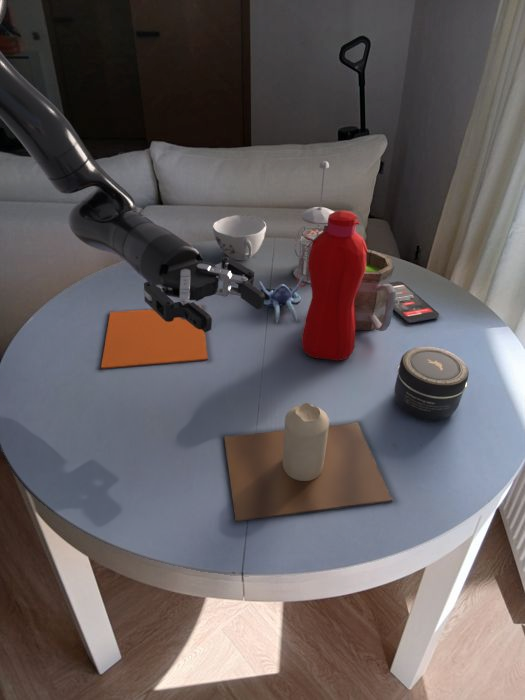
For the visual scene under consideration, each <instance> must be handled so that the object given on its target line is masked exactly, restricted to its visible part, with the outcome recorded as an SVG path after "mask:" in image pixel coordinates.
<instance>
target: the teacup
mask: <svg viewBox="0 0 525 700" xmlns="http://www.w3.org/2000/svg"><path fill="white" fill-rule="evenodd" d="M212 230H213V234H214V238H215V241H216V244H217V246H219V248H220V250H221V251H222V252H223V253H224V254H225V255H227V257H229V258H231V259H233V260H234V261H245V260H249V259H250V258H252V257H253V256H254V255H255V254H256V253H257V252H258V251H259V250H260V248H261V247H262V244H263V242H264V240H265V236H266V233H267V232H266V231H267V223H266V222H265V221H264V220H263V219H262V218H259V217H255V216H251V215H244V214H242V215H241V214H239V215H231V216H226V217H222V218H221V219H219V220H217V221H215V222H214V223H213V224H212Z"/></svg>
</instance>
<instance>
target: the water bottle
mask: <svg viewBox="0 0 525 700" xmlns="http://www.w3.org/2000/svg"><path fill="white" fill-rule="evenodd" d="M357 225H360V220H358V216H357V214H355V213H353V212H351V211H348V210H337V211H334V213H331V214H330V215H329V218H328V224H327V225H324V226H323V228H324V230H323V232H322V233H320V234H319V235H318V236H317V237H315V238H314V240H313V241H312V242H309V243H308V244H309V245H312V246H311V247H312V249H310V250H311V251H310V253H309V261H308V275H309V273H310V280H311V283H310V286H311V300H310V304H309V306H308V310H307V313H306V316H305V323H304V326H303V329H302V336H301V345H302V349H303V352H304V353H305V354H307V355H308V356H309V357H311V358H314V359H323V360H324V359H325V360H326V359H327V360H330V361H344V360H345V359H348V358H350V356H351V355H352V353H353V351H354V350H355V341H356V330H355V328H356V317H355V306H354V301H355V298H356V295H357V292H358V289H359V286H360V283H361V280H362V278H363V275H364V273H365V270H366V255H367V250H368V247H367V244H366V242H365V239H364V237H362V236H361V235H360V234H359V233H358V232H356V228H357ZM309 245H308V246H309ZM308 246H305V251H304V253H305V254H306V249H308ZM303 255H304V254H303ZM302 258H303V256H302ZM301 261H302V259H301ZM300 264H301V262H300ZM298 266H299V267H300V265H299V264H298ZM298 271H299V269H298ZM296 281H297V284H298V285H299V286H300V287H301V288H303V287H305V286H306V285H307V284H308V283H307V282H305V284H299V283H298V282H299V279H298V274H297V278H296ZM307 281H308V278H307Z"/></svg>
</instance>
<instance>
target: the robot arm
mask: <svg viewBox="0 0 525 700" xmlns="http://www.w3.org/2000/svg"><path fill="white" fill-rule="evenodd" d="M8 4H9V0H0V25H1V24H2V23H3V21H4V18H5V16H6V13H7V10H8ZM0 119H1V121H3V122H4V124H5V125H6V126H7V127H8V129H9V130H10V131H11V132H12V133H13V135H14V136H15V137H16V138H17V140H18V141H19V142H20V143H21V144H22V146H23V147H24V148H25V150H26V151H27V152H28V154H29V155H30V156H31V157H32V159H33V160H34V162H35V164H37V166H38V168H39V169H40V170H41V171H42V172H43V174H44V175H45V177H46V178H47V179H48V181H49V182H50V183H51V185H52V186H53V187H54V188H55V189H56V190H57V191H58V192H60V193H61V194H66V195H69V194H74V193H77V192H81V191H83V190H85V189H88V188H90V187H91V188H92V187H95V190H94V191H92V192H91V193H89V195H87V196H86V197H84V198H83V199H82V200H81V201H79V202H77V204H75V205H74V206H73V207H72V208H71V209H70V211H69V213H68V226H69V228H70V230H71V232H72V233H73V234H74V236H75V237H77V239H78V240H79V241H81V242H82V243H84V244H85V245H87V246H89V247H91V248H94V249H97V250H99V251H104V252H107V253H111V254H113V255H116V256H118V257H119V258H121V259H122V260H123V261H124V262H126V263H127V264H128V265H129V266H130V267H131V268H132V269H133V270H134V271H135V272H136V273H137V274H138V275H140V276H141V277H142V278H143V279H144V280H146V281H145V282H144V283H143V294H144V295H143V297H144V302H145V303H146V304H147V305H148V306H149V307H150V308H151V309H153V310H154V311H155V312H156V313H158V314H159V315H160V316H161V317H162V318H163V319H164V320H165V321H167V322H171V321H173V320H174V318H176V317H179V318H180V319H183V320H187V321H188V322H189V323H191V324H192V325H193V326H194V327H195V328H197V329H200V330H201V329H202V330H203V331H204V333H207V332H210V331H212V324H213V317H212V316H211V314H209V313H208V312H207V311H205V310H204V309H203V307H201V308H200V307H199V306H200V305H198V304H197V303H195V302H194V301H196V302H198V301H201V300H203V299H204V298H207V297H211V296H214V295H215V296H219V297H228V296H229V295H232V296H237V297H240V299H242V300H243V301H245V303H247V304H249V305H250V306H252V307H253V308H254V309H256V310H261V309H263V308H264V307H265V306H264V301H265V296H264V295H265V294H264V293H263V292H262V291H261V289H259V288H258V287H256V286H254V279H255V275H256V274H255V272H254V271H253V270H252V269H250V268H248V267H246V266H245V265H243V264H242V263H239V262H238V261H237V260H234V259H232V258H229V257H228V256H222V257H221V262H219V263H217V264H213V263H210V262H207V261H206V260H204V258H203V257H202V255H201V253H200V252H199V250H198V249H196V248H195V247H194V246H192V245H191V244H190V243H188V242H186V241H185V240H183V239H182V238H180V236H178V235H176V234H175V233H173V232H171V231H170V230H169V229H167V228H165V227H164V226H163V227H162V226H160V225H158V224H156V223H155V222H153V221H152V220H151V219H149V218H148V217H147V216H145V215H143V214H142V213H140V212H138V210H137V205H136V201H135V200H134V198H133V197H132V196H131V194H130V193H129V192H127V190H125V188H124V187H122V186H121V185H120V184H119V183H118V182H116V180H114V179H113V178H112V177H110V176H109V174H108V173H107V172H106V171H105V170H104V169H103V168H102V167H101V165H99V164H98V162H97V161H96V159H95V158H94V157H93V156H92V154H91V153H90V151H89V149H88V148H87V146H86V145H85V143H84V142H83V140H82V138H81V137H80V135H79V134H78V132H77V131H76V129H75V128H74V126H73V125H72V124H71V122H70V121H69V119H67V117H66V116H65V115H64V114H63V113H62V111H61V110H59V108H58V107H56V106H55V104H53V102H51V101H50V100H49V99H48V98H47V97H46V96H45V95H44V94H42V93H41V91H39V90H38V88H36V87H35V86H33V84H31V83H30V82H29V81H28V80H27V79H26V78H25V77H24V76H23V75H22V74H20V72H19V71H18V69H16V68H15V67H14V66H13V65H12V64H11V62H10V61H9V60H8V59H7V58H6V56H5V55H4V54H3V53H2V51H0ZM219 278H221V279H222V281H223V282H222V287H220V286H219ZM231 283H235V285H237V287H235V286H231ZM170 297H172V298H177V299H178V301H174V300H172V299H171V298H170ZM190 301H192V302H190Z"/></svg>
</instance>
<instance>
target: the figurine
mask: <svg viewBox="0 0 525 700" xmlns="http://www.w3.org/2000/svg"><path fill="white" fill-rule="evenodd" d="M302 279H303V277H302V278H301V279H300V280H298V283H299V284H300V285H302V282H303V281H302ZM258 283H259V285H260V288H261V289H260V290H261V291H262V292H263V293H264V294H265V295H264V296H265V301H264V307H265V308H268V307H272V306H273V308H274V316H275V323H276V324H277V323H278V321H279V318H280V315H281V313H280V312H281V308H280V306H283V307H284V306H285V307H286V308H287V309H288V311H289V312H290V314H291V316H292V318H293V319H294V320H295V321H296V322H297V312H296V309H295V307H294V305H295V306H297V305H299V304H300V303H301V301H302V298H301V296H300V295H299V293H297V291H298V290H299V288H300V287H301V286H299V285H298V283H297V285H296V286H295V287H294V288H291V287H288V286H287V285H286V284H284V283H281V284H279V285H278V286H277V287H276V288H265V286H264V284H263V282H261V280H259V282H258Z"/></svg>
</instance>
